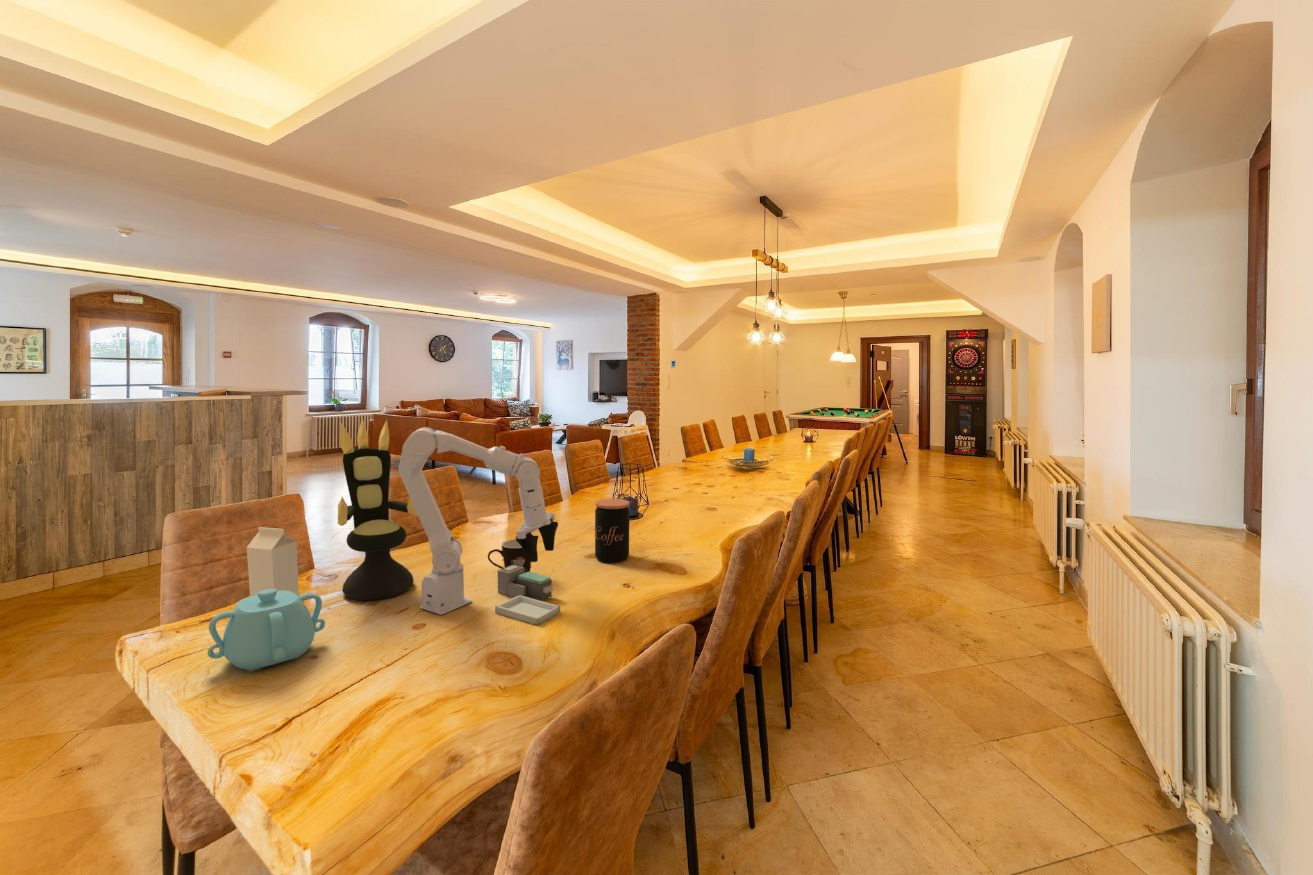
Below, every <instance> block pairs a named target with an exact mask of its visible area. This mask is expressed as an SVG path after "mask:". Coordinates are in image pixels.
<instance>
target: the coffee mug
mask: <svg viewBox="0 0 1313 875" xmlns="http://www.w3.org/2000/svg"><path fill="white" fill-rule="evenodd" d="M494 552H498V553H499V554H500V555H501V557H502V558H503V565H504V566H501V565H499V564H498V563H495V562H494V561H493V560H491V558H490V556H491V554H492V553H494ZM487 559H488V561H489V563H490V564H492V565H493V566H495V567H497V568H499V569H500V570H501V569H503V568H506V567H508V566H511V565H516V566H521V567H524V573H526V572H531V566H532V562H529V560H528V558H527V555H526V553H525V552H524V550H523V548H522V547H521V546H520V544H519V543H518V542H517V541H516V538H513V539H508V540H505V541H503V542H502V543H501V550H500V549H497V548H494V549H491V550H490V551H489V552H488V553H487Z"/></svg>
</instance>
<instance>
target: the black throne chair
mask: <svg viewBox="0 0 1313 875" xmlns="http://www.w3.org/2000/svg"><path fill="white" fill-rule="evenodd" d="M359 424H360V425H359V428H358V432H357V435H356V436H357V438H356V442H357V447H358V448H357V449H356V448H354V444H353V440H352V437H351V436H350V434H349V432H348V431H347V429H346V427H345V425H344V424H343V423H342V422H341V421H340V422H339V437H338V439H339V440H338V441H339V446H340V448H341V450H342V453H343V457H342V464H343V465H342V466H343V472H344V476H345V481H346V484H347V489H348V494H349V498H350V503H351V505H348V503H346V501H345V498H344V497H343V495H342V496H341V498H340V501H339V502H338V504H337V524H338V525H339V526H341V527H342V526H345V525H346V524H347V523H348V521H350V520H351V519H352V517H353V527H354V528H353V530H351V531H350V532H349V533H348V534H347V537H346V543H347V544H346V545H347V546H348V547H349V548H350V549H351V550H353V551H356V552H361V553H364V555H365V556H364V558H363V559H364V560H363V561H362V563H361V564H359V565H358V566H357V568H355V569H354V570H353V571H352V572H351V573H350V574H349V575H348V576H347V578H346V580H345V581H344V582H343V585H342V594H344V595H345V597H347V598H349V599H352V600H357V601H375V600H376V601H377V600H382V599H388V598H391V597H392V598H393V597H395V596H398V595H401V594H403V593H404V592H407V591H408V590H409V589H410V588H411V587H412V585H413V584H414V581H415V580H414V577H413V574H412V573H411V571H410V569H408V568H407V567H405V566H404V565H403V564H401V563H399V562H398V561H397V560H395V558H393V557H392V555H391V551H390V550H392V549H395V548H397V547H399V546H401V545H403V543H404V542H405V540H406V538H407V532H406V529H405V528H404V527H402V526H401V525H399V524H398V523H396V522H394V521H392V520H390V510H394V511H398V512H402V513H407V514H409V515H411V516H417V517H418V514H417V512H416V510H415V508H414V505H413V503H412V501H411V499H410V497H408V500H407V502H403V501H400V500H399V501H398V500H390V498H389V495H390V494H389V493H390V492H389V491H390V479H391V478H390V475H391V465H392V464H391V461H392V460H391V459H392V458H391V457H392V456H391V453H390V451H389V450H388V449H389V445H390V444H389V443H390V432H389V425H388V424H389V422H388V419H387V418H386V419H385V422H384V424H383V427H382V429H381V431H380V434H379V438H378V448H373V447H369V434H368V432H367V427H366V424H365V420H364V418H363V417H361V421H360V423H359Z"/></svg>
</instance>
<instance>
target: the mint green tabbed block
mask: <svg viewBox="0 0 1313 875" xmlns="http://www.w3.org/2000/svg"><path fill="white" fill-rule="evenodd" d="M552 581H553V580H552V579H551V576H548V575H545V574H540V573H535V572H531V571H530V572H526V573H524V574H521V575H519V576H518V578H517V584H519V585H523V586H526V597H528V598H532V599H535V600H539V601H543V602H545V601H547V600H549V599H550V598H549V597H551V598H552V597H553V595H552V594H553V593H552V591H553V589H554V587H553V585H552ZM548 598H549V599H548ZM546 599H547V600H546ZM544 600H545V601H544Z"/></svg>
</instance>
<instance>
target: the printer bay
mask: <svg viewBox="0 0 1313 875" xmlns="http://www.w3.org/2000/svg"><path fill="white" fill-rule="evenodd" d="M521 574H524V567H521V566H516V565H511V566H508V567H506V568H505V567H504V568H503V569H501V568H500V569H499V570H497V593H498V594H501V595H503V596H507V597H509V598H514V597H516V596H519V595H521V596H524V597H526V586H523V585H519V584H517V578H518V576H519V575H521Z"/></svg>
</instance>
